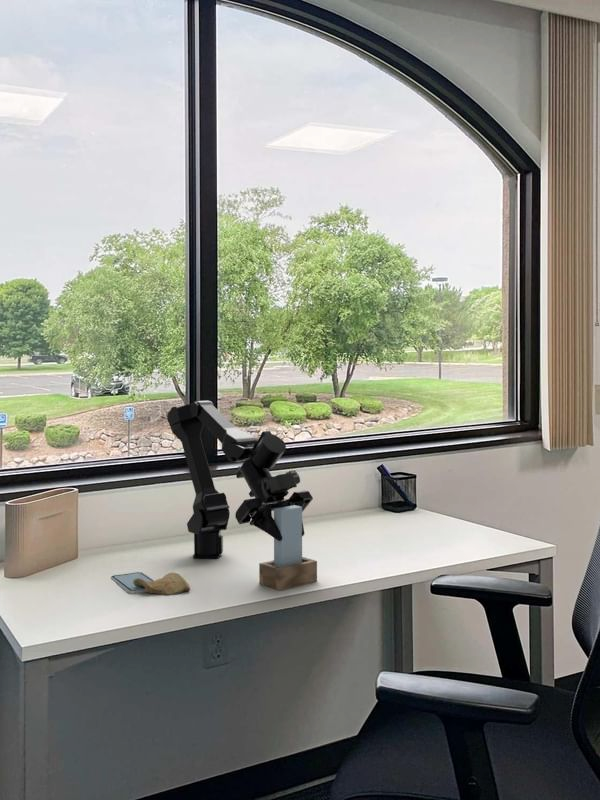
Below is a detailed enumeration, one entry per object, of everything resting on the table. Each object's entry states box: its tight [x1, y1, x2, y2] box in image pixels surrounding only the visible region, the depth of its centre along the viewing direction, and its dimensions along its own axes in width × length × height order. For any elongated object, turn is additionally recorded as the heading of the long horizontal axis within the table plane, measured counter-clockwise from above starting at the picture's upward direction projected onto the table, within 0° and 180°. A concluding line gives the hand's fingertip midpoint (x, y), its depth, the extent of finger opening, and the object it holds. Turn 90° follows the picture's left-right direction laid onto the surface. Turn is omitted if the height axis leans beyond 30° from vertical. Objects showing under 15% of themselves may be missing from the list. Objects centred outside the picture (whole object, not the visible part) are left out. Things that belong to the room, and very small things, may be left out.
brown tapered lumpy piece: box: [133, 572, 191, 596], centre depth 169 cm, size 11×4×10 cm
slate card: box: [273, 505, 303, 568], centre depth 173 cm, size 6×2×13 cm, turn 131°
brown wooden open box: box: [258, 556, 318, 592], centre depth 173 cm, size 11×7×4 cm, turn 132°
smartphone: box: [110, 571, 155, 595], centre depth 173 cm, size 7×1×15 cm
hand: (292, 537), depth 172 cm, fingers closed on slate card, 6 cm apart
